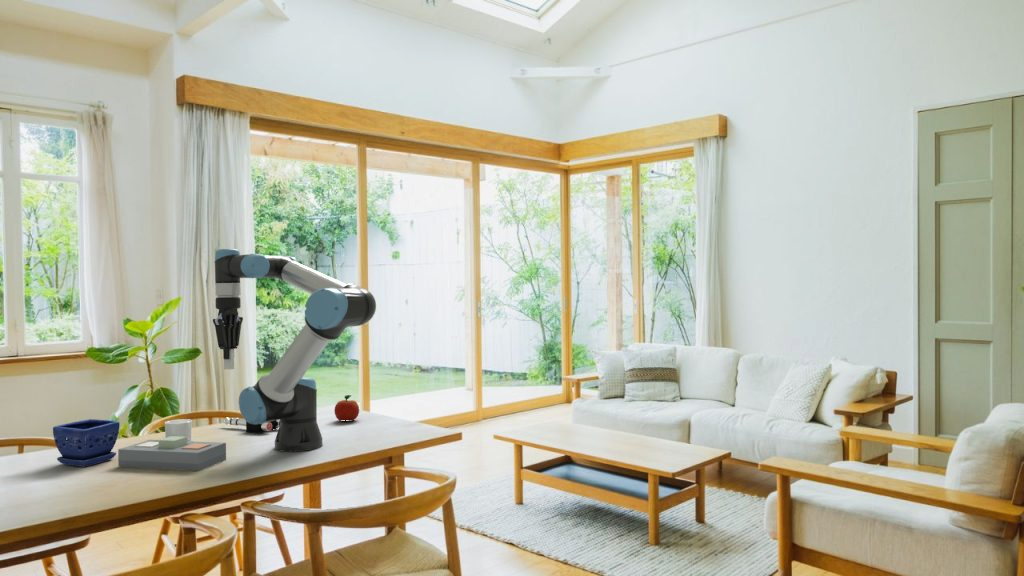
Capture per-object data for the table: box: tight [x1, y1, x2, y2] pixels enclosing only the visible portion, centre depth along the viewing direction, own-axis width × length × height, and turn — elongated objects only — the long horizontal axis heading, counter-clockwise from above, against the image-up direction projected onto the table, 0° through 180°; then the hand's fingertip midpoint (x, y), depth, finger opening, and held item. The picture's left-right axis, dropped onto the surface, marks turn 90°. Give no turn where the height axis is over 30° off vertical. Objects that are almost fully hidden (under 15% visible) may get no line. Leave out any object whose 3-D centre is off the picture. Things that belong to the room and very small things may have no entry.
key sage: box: [158, 436, 187, 449], centre depth 208 cm, size 6×6×4 cm
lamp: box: [223, 417, 280, 434], centre depth 257 cm, size 11×5×25 cm
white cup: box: [164, 418, 193, 441], centre depth 222 cm, size 8×8×10 cm
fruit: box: [334, 394, 360, 421], centre depth 271 cm, size 10×10×10 cm
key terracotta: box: [182, 444, 210, 450], centre depth 207 cm, size 6×6×4 cm
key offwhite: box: [136, 442, 159, 448], centre depth 210 cm, size 6×6×4 cm
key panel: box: [117, 439, 227, 472], centre depth 208 cm, size 27×13×5 cm, turn 78°
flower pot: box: [52, 418, 120, 468], centre depth 211 cm, size 13×13×12 cm
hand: (229, 369), depth 224 cm, fingers closed
